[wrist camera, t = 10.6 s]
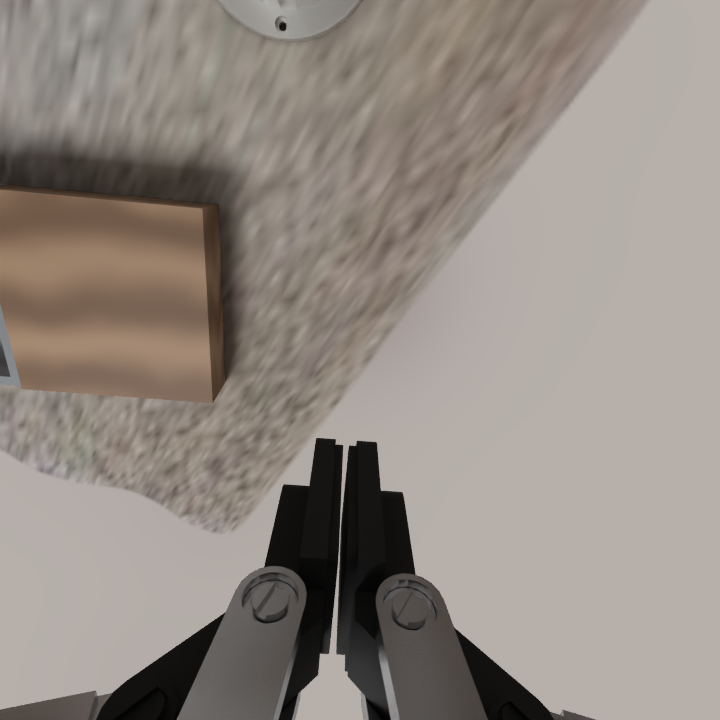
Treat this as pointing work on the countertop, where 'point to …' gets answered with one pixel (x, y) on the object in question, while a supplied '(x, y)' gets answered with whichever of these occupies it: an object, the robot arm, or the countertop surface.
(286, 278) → the countertop surface
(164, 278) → the walnut board
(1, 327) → the tray
